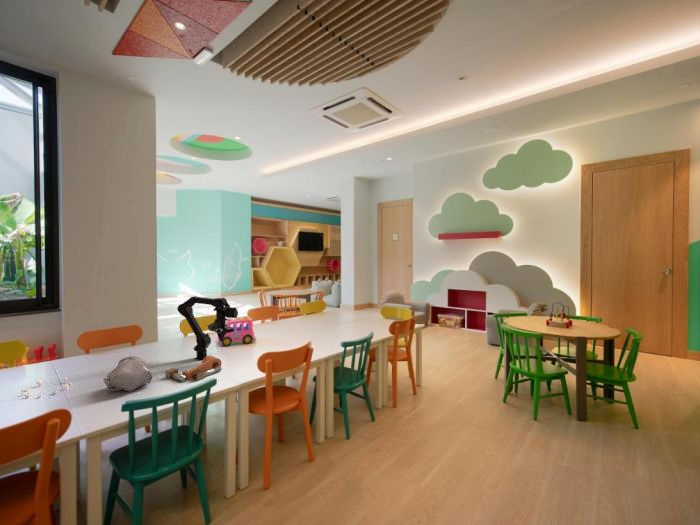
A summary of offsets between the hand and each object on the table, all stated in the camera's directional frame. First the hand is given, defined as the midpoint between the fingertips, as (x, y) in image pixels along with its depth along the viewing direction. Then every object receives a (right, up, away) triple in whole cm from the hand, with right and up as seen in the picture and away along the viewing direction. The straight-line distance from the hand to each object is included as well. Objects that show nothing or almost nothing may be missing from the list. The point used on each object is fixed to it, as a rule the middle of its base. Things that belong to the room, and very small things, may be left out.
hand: (221, 341), depth 211 cm
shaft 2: (+3, -13, -26) cm, 29 cm away
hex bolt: (-12, -13, -32) cm, 36 cm away
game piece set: (-69, -14, -47) cm, 85 cm away
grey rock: (-29, -14, -45) cm, 55 cm away
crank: (-2, -13, -22) cm, 26 cm away
